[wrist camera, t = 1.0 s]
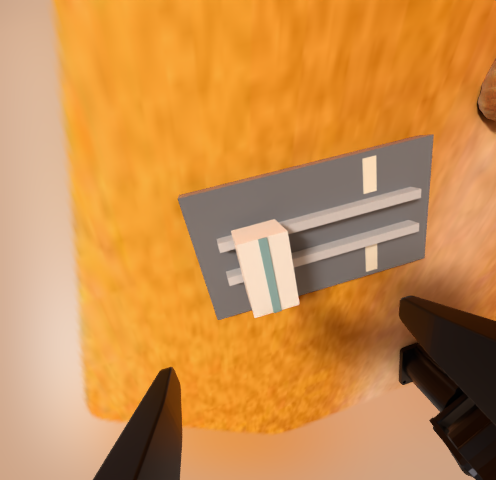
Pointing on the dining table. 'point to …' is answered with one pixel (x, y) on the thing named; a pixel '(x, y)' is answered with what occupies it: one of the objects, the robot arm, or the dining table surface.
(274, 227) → the block
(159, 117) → the dining table surface
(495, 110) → the pastry
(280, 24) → the dining table surface
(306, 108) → the dining table surface
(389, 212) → the grey slider panel
